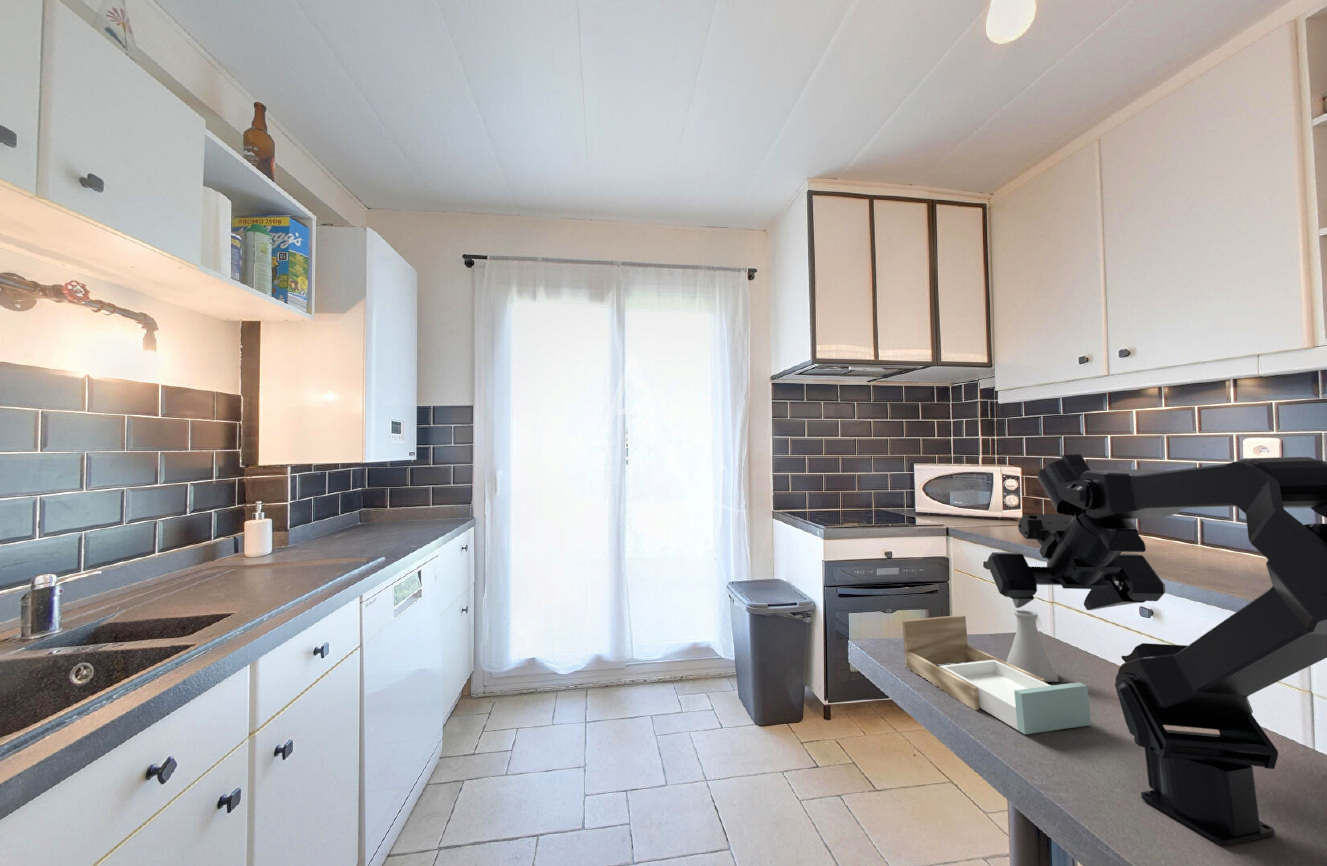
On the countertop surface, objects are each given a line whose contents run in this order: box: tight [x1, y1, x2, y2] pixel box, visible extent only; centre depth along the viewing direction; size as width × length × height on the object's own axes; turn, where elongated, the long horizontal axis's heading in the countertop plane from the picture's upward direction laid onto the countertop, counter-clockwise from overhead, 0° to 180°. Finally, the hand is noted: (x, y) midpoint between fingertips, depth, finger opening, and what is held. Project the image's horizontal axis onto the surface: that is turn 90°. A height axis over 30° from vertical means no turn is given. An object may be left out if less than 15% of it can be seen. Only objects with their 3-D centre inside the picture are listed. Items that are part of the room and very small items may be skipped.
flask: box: [1006, 609, 1060, 683], centre depth 78 cm, size 7×7×10 cm
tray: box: [938, 660, 1092, 735], centre depth 68 cm, size 15×10×5 cm
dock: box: [901, 614, 1046, 711], centre depth 75 cm, size 15×12×8 cm
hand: (1050, 606), depth 71 cm, fingers open, 9 cm apart
